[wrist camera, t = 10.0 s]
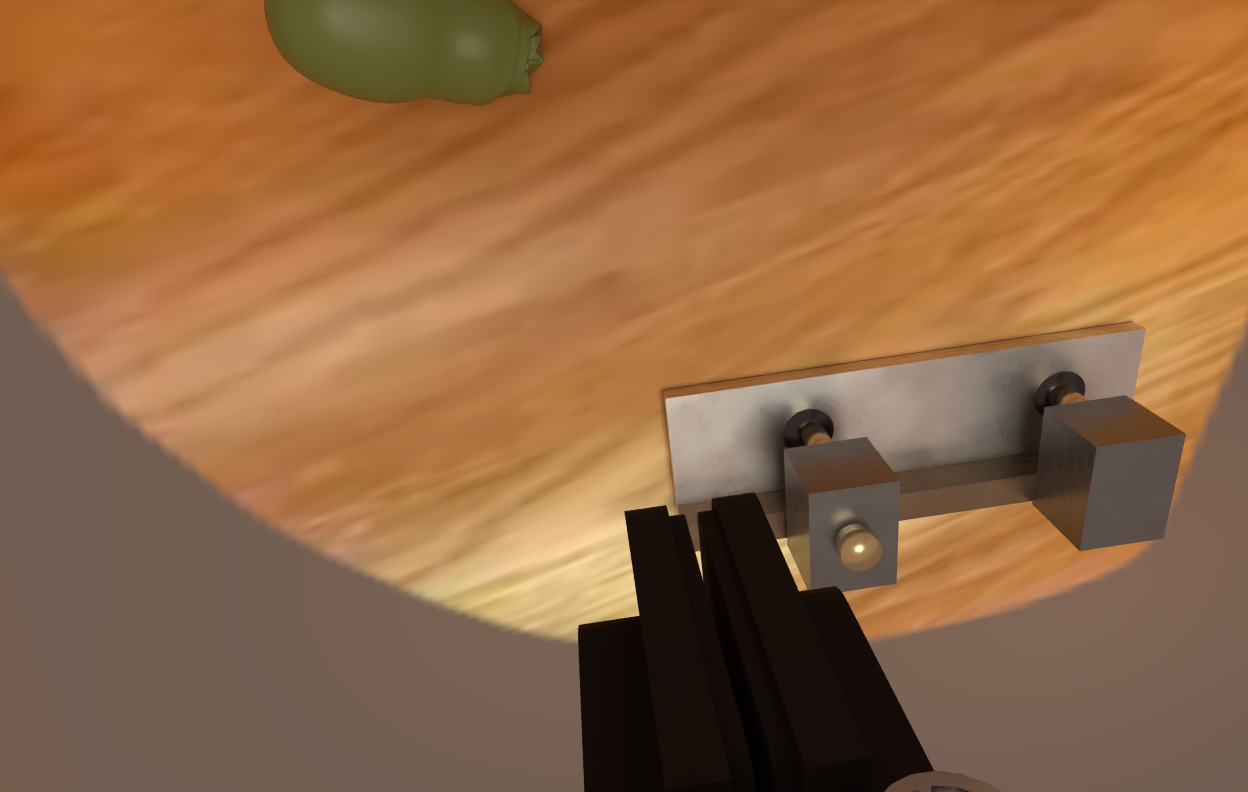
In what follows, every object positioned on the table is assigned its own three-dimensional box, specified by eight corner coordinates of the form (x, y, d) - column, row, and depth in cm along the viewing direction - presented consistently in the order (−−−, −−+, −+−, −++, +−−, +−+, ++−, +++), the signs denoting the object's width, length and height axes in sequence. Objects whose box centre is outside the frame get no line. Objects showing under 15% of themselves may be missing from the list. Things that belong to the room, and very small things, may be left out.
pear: (255, -104, 24) (565, -20, 28) (278, -88, 29) (542, -17, 32) (249, 84, 27) (537, 142, 30) (272, 71, 31) (519, 123, 34)
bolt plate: (1132, 321, 39) (1242, 377, 33) (1108, 457, 43) (1204, 531, 37) (662, 390, 39) (683, 460, 33) (677, 522, 42) (698, 609, 36)
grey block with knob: (852, 417, 39) (909, 493, 33) (851, 510, 41) (905, 597, 35) (772, 429, 39) (815, 507, 33) (777, 522, 41) (817, 611, 35)
